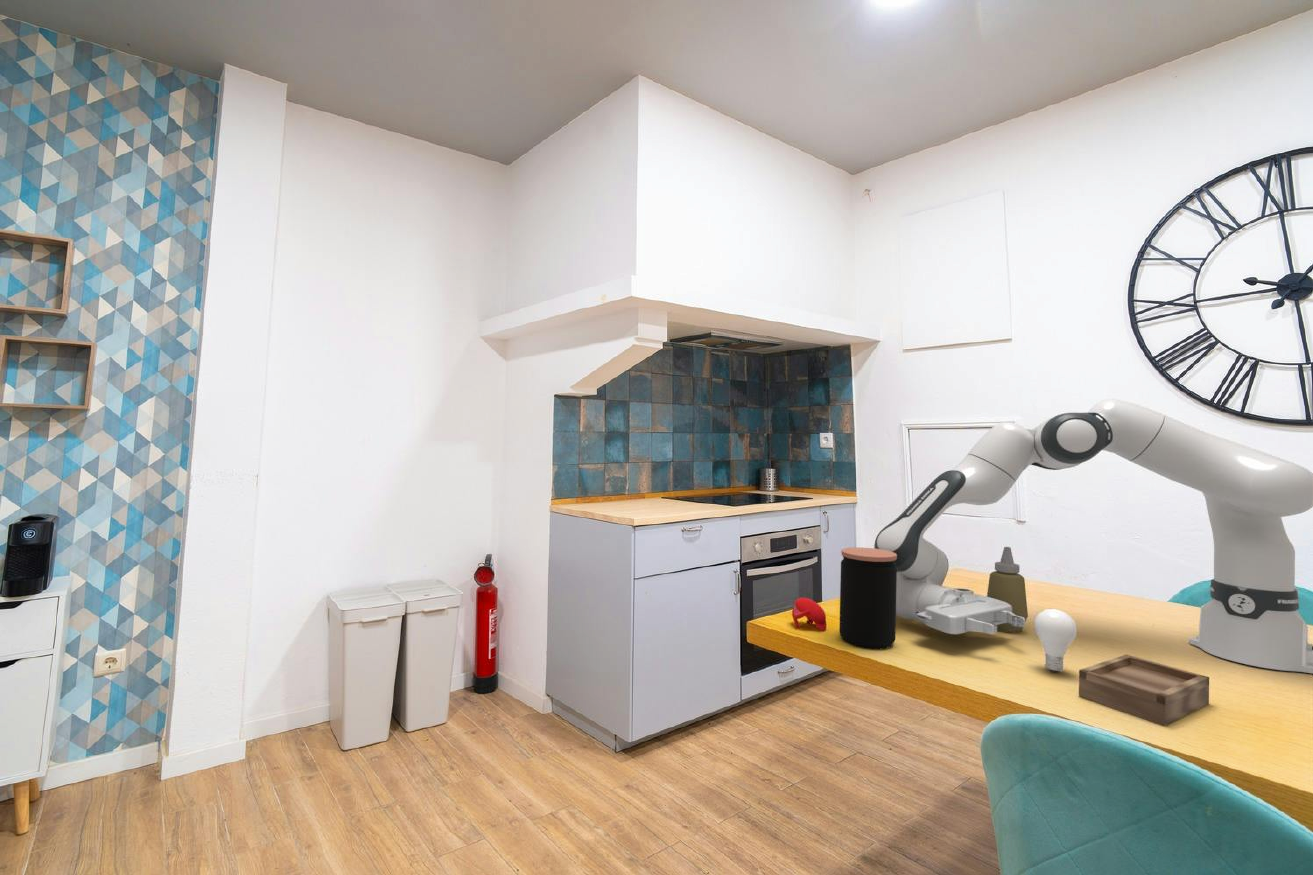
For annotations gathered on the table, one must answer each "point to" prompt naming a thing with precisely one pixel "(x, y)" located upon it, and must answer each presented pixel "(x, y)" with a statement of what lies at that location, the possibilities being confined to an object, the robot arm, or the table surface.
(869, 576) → the coffee jar
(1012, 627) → the squeeze bottle
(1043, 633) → the lightbulb
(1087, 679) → the walnut tray
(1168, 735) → the table surface
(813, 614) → the red animal figurine
